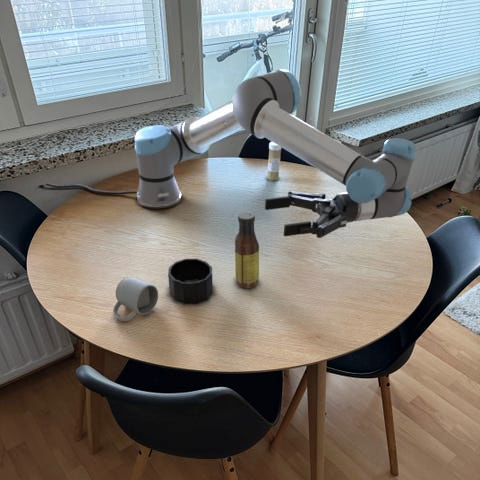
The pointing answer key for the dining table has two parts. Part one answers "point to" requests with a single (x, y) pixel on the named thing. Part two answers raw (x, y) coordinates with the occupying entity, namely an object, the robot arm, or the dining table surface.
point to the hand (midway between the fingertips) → (274, 217)
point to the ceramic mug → (135, 297)
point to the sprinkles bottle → (274, 161)
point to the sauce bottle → (246, 252)
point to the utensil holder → (190, 290)
